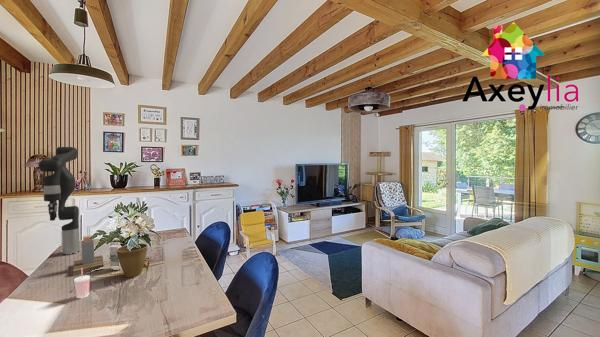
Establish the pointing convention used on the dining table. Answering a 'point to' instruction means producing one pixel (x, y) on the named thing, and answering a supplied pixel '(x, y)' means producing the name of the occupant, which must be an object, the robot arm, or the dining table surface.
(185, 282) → the dining table surface
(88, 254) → the grey open box
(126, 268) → the plant pot
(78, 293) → the beverage cup
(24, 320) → the dining table surface
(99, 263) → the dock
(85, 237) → the block
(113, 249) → the syrup box
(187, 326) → the dining table surface
